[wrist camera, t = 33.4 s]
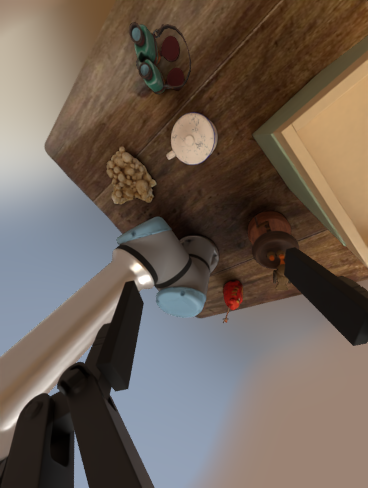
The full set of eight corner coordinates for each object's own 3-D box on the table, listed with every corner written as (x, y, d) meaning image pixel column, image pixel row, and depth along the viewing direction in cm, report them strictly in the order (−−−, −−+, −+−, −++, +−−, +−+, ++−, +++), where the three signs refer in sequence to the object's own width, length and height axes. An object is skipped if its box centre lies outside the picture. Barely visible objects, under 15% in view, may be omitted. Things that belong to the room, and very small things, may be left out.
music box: (297, 240, 48) (317, 295, 33) (258, 251, 54) (259, 302, 39) (278, 192, 43) (292, 231, 28) (237, 210, 49) (229, 251, 34)
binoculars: (189, 71, 29) (135, 90, 31) (195, 87, 38) (153, 101, 40) (177, -13, 24) (115, 16, 27) (187, 27, 33) (140, 47, 36)
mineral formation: (121, 199, 56) (104, 147, 48) (161, 196, 54) (150, 141, 46) (110, 210, 50) (88, 151, 41) (155, 206, 48) (142, 144, 39)
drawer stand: (292, 194, 43) (371, 276, 18) (251, 134, 39) (278, 134, 14) (362, 150, 35) (660, 186, 10) (320, 71, 31) (646, -178, 6)
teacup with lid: (209, 106, 38) (199, 97, 29) (224, 148, 41) (221, 152, 32) (165, 137, 43) (145, 138, 34) (182, 171, 47) (168, 181, 37)
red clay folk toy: (244, 293, 64) (246, 331, 51) (225, 293, 66) (222, 329, 54) (241, 277, 60) (242, 314, 48) (221, 278, 63) (217, 313, 51)
